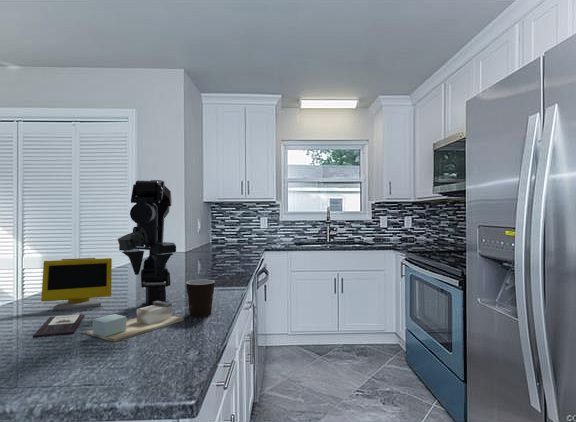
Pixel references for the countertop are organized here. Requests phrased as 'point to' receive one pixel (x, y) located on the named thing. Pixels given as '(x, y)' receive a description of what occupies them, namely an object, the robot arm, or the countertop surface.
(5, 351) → the countertop surface
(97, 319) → the stub
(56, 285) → the toy computer monitor
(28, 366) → the countertop surface
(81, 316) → the chocolate bar
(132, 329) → the board
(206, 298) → the coffee mug
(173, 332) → the countertop surface
